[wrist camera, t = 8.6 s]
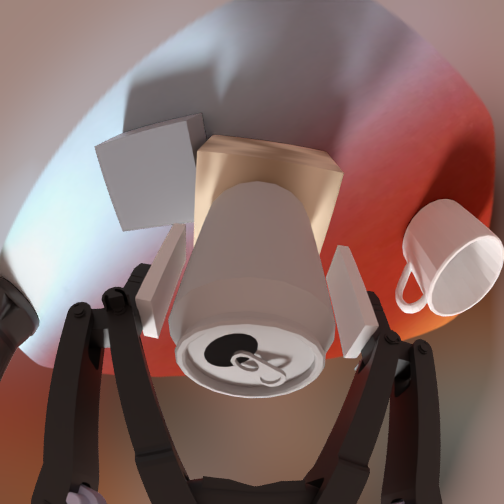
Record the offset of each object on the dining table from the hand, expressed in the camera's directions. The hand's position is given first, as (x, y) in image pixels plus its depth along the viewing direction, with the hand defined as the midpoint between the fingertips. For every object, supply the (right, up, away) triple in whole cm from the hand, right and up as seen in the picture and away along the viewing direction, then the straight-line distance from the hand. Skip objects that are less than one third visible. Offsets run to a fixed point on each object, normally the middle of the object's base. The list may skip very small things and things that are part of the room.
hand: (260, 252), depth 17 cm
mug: (+20, +1, +10) cm, 22 cm away
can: (0, +2, +3) cm, 4 cm away
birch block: (0, +5, +8) cm, 10 cm away
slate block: (-8, +8, +6) cm, 13 cm away
